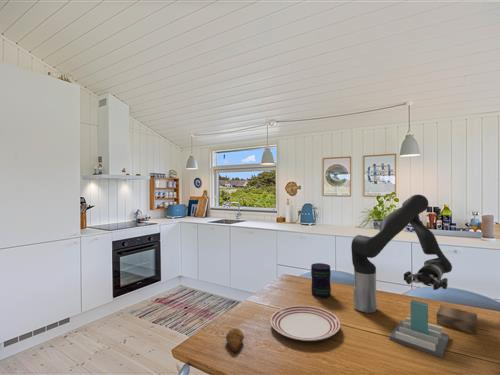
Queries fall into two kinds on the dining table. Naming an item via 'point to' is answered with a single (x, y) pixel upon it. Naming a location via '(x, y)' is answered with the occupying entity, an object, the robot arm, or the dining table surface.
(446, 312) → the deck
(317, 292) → the storage jar
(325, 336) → the dinner plate
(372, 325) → the dining table surface
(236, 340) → the brown oval lump
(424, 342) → the slotted rack
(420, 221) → the robot arm
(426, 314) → the block
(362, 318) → the dining table surface
